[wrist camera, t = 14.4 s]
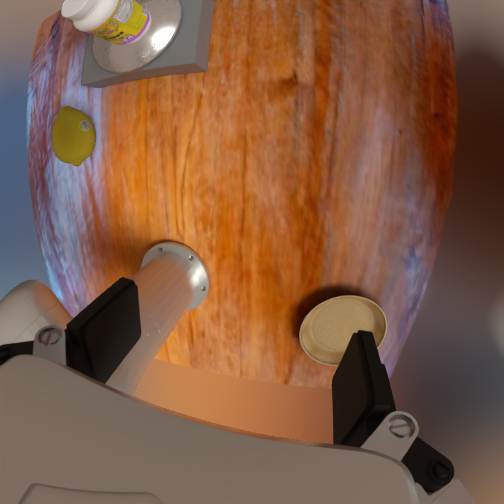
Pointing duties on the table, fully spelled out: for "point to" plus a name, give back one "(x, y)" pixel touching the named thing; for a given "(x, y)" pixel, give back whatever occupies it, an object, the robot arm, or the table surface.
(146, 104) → the table surface
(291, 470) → the robot arm
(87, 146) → the lemon
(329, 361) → the plant saucer
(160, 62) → the kitchen scale
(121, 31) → the supplement bottle
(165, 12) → the scale pan
